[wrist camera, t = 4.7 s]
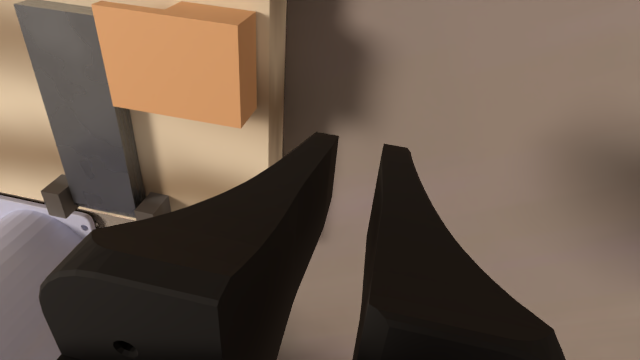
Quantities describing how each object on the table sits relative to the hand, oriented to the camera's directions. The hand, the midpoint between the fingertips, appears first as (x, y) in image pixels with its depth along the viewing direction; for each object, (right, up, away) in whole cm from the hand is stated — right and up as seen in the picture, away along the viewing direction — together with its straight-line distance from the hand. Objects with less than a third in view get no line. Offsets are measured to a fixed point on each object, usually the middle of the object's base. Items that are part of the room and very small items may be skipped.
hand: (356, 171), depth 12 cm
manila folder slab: (-6, +5, +6) cm, 10 cm away
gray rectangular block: (-12, +3, +9) cm, 15 cm away
